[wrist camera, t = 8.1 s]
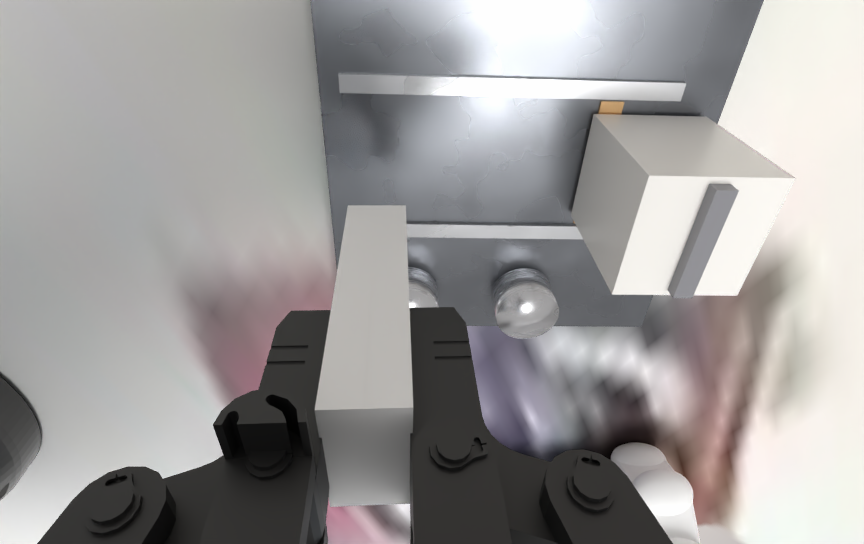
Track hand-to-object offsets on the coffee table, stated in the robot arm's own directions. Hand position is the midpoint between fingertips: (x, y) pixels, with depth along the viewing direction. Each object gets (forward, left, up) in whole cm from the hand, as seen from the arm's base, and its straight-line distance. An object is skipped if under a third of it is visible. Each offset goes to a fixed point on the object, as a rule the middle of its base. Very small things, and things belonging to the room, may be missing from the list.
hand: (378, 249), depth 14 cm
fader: (+9, 0, -6) cm, 11 cm away
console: (+5, 0, -8) cm, 9 cm away
